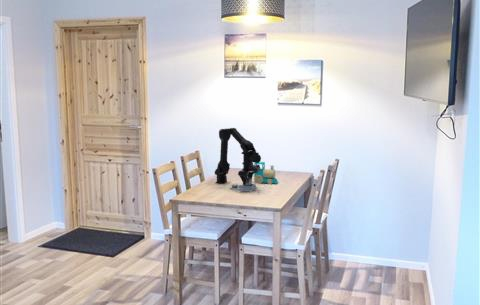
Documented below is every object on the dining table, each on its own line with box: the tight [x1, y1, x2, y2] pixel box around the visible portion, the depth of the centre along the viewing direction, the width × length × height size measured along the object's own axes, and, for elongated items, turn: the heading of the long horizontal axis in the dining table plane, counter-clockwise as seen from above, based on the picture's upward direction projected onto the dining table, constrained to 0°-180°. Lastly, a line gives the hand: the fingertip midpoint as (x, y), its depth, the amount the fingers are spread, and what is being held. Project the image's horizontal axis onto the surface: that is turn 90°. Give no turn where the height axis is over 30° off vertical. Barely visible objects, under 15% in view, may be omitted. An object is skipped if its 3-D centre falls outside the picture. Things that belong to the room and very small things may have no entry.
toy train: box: [253, 161, 279, 185], centre depth 338 cm, size 8×17×15 cm, turn 76°
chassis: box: [229, 183, 257, 193], centre depth 319 cm, size 15×11×3 cm
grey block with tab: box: [242, 177, 253, 186], centre depth 318 cm, size 5×4×7 cm
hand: (247, 183), depth 318 cm, fingers open, 9 cm apart
